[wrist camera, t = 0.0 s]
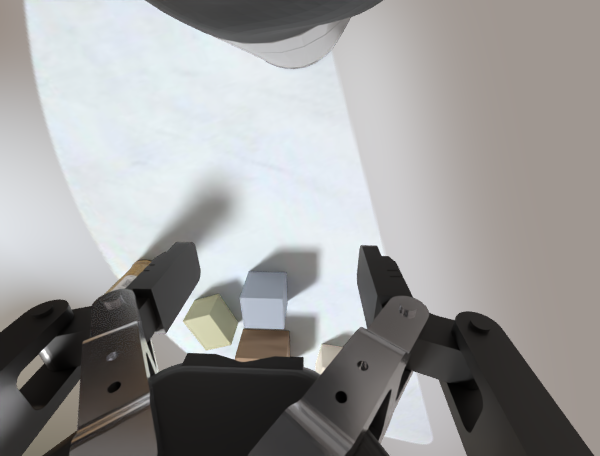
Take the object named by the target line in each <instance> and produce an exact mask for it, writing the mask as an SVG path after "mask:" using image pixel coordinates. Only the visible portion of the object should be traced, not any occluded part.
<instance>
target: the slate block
mask: <svg viewBox="0 0 600 456" xmlns="http://www.w3.org/2000/svg"><path fill="white" fill-rule="evenodd" d="M287 303H288V296H287V273H286V272H248V275H247V278H246V281H245V284H244V286H243V289H242V292H241V295H240V304H241V311H242V317H243V323H244V328H260V329H284V326H285V318H286V310H287Z"/></svg>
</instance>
